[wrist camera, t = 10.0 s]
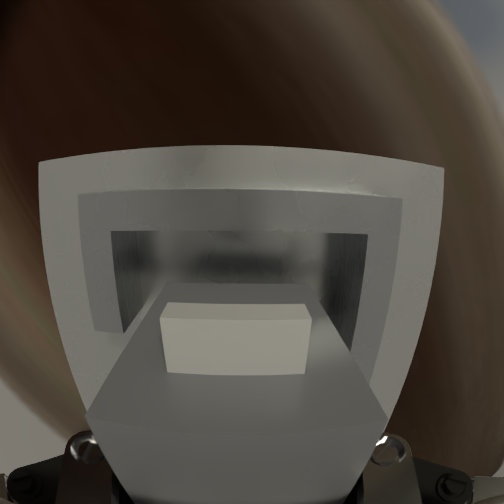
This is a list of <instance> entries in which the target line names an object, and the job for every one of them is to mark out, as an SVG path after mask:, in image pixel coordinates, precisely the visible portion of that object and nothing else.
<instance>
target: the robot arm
mask: <svg viewBox="0 0 504 504" xmlns="http://www.w3.org/2000/svg"><path fill="white" fill-rule="evenodd" d="M0 504H134V502H133V501H132V499H131V498H130V496H129V495H128V493H127V492H126V490H125V489H124V487H123V486H122V484H121V483H120V481H119V479H118V478H117V476H116V475H115V473H114V471H113V470H112V468H111V466H110V464H109V463H108V461H107V459H106V457H105V456H104V454H103V452H102V450H101V448H100V446H99V445H98V443H97V441H96V439H95V437H94V435H93V433H92V431H91V430H90V431H82V432H79V433H77V434H75V435H74V436H72V437H71V438H70V439H69V440H68V443H67V445H66V448H65V453H64V454H63V455H60V456H57V457H54V458H51V459H48V460H45V461H41V462H38V463H35V464H31V465H27V466H24V467H20V468H17V469H15V470H14V471H13V472H11V473H10V475H9V476H8V477H7V476H6V475H5V474H0ZM343 504H504V477H479V476H475V477H474V478H473V479H470V477H469V476H468V475H467V474H466V473H464V472H462V471H459V470H456V469H452V468H448V467H445V466H441V465H438V464H435V463H431V462H428V461H425V460H422V459H419V458H416V457H413V456H412V454H411V450H410V447H409V445H408V443H407V442H406V441H405V440H404V439H403V438H401V437H399V436H398V435H395V434H391V433H382V434H381V437H380V439H379V441H378V443H377V445H376V447H375V449H374V451H373V453H372V455H371V457H370V458H369V460H368V462H367V464H366V466H365V468H364V469H363V471H362V473H361V475H360V477H359V478H358V480H357V482H356V483H355V485H354V487H353V488H352V490H351V492H350V493H349V495H348V496H347V498H346V500H345V501H344V503H343Z"/></svg>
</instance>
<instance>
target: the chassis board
mask: <svg viewBox="0 0 504 504" xmlns="http://www.w3.org/2000/svg"><path fill="white" fill-rule="evenodd" d="M443 187H444V168H441V167H436V166H431V165H426V164H421V163H416V162H410V161H404V160H399V159H392V158H386V157H379V156H372V155H365V154H357V153H348V152H339V151H329V150H318V149H306V148H291V147H272V146H229V145H220V146H178V147H158V148H144V149H132V150H121V151H111V152H102V153H94V154H87V155H79V156H73V157H66V158H60V159H54V160H48V161H43V162H39V206H40V222H41V233H42V243H43V251H44V259H45V266H46V272H47V278H48V283H49V289H50V294H51V299H52V303H53V308H54V312H55V317H56V321H57V325H58V329H59V332H60V336H61V340H62V343H63V346H64V350H65V353H66V356H67V359H68V363H69V366H70V369H71V371H72V374H73V377H74V380H75V383H76V385H77V388H78V391H79V393H80V396H81V398H82V401H83V403H84V406H85V408H86V411H88V409H89V407H90V406H91V404H92V402H93V400H94V399H95V397H96V395H97V393H98V392H99V390H100V388H101V387H102V385H103V383H104V381H105V380H106V378H107V376H108V375H109V373H110V371H111V370H112V368H113V366H114V365H115V363H116V361H117V360H118V358H119V356H120V355H121V353H122V352H123V350H124V348H125V347H126V345H127V344H128V342H129V340H130V339H131V337H132V336H133V334H134V332H135V331H136V329H137V328H138V326H139V325H140V323H141V321H142V320H143V318H144V317H145V315H146V314H147V312H148V311H149V309H150V308H151V306H152V304H153V303H154V301H155V300H156V298H157V297H158V295H159V294H160V292H161V291H162V289H163V288H164V286H165V285H166V283H167V282H183V283H236V284H309V286H310V287H311V289H312V291H313V292H314V294H315V296H316V297H317V299H318V300H319V302H320V304H321V305H322V307H323V309H324V310H325V312H326V313H327V315H328V317H329V318H330V320H331V322H332V323H333V325H334V327H335V328H336V330H337V332H338V333H339V335H340V337H341V338H342V340H343V342H344V343H345V345H346V347H347V348H348V350H349V352H350V353H351V355H352V357H353V358H354V360H355V362H356V364H357V365H358V367H359V369H360V370H361V372H362V374H363V376H364V377H365V379H366V381H367V382H368V384H369V386H370V388H371V389H372V391H373V393H374V395H375V396H376V398H377V400H378V402H379V403H380V405H381V407H382V409H383V410H384V412H385V414H386V416H387V418H388V421H389V419H390V416H391V414H392V412H393V409H394V407H395V405H396V402H397V400H398V397H399V394H400V392H401V389H402V387H403V384H404V381H405V378H406V376H407V373H408V370H409V367H410V364H411V361H412V358H413V355H414V351H415V348H416V345H417V341H418V338H419V334H420V331H421V327H422V323H423V319H424V315H425V311H426V307H427V303H428V298H429V294H430V289H431V284H432V279H433V274H434V268H435V262H436V256H437V249H438V242H439V234H440V225H441V215H442V203H443ZM388 421H387V423H388ZM386 425H387V424H386ZM385 428H386V426H385ZM385 428H384V430H385ZM384 430H383V432H384ZM383 432H382V433H383Z"/></svg>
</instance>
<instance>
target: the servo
mask: <svg viewBox="0 0 504 504" xmlns="http://www.w3.org/2000/svg"><path fill="white" fill-rule="evenodd" d="M85 418H86V420H87V422H88V424H89V427H90V429H91V431H92V433H93V435H94V437H95V439H96V441H97V443H98V445H99V446H100V448H101V450H102V452H103V454H104V456H105V457H106V459H107V461H108V463H109V464H110V466H111V468H112V470H113V471H114V473H115V475H116V476H117V478H118V479H119V481H120V483H121V484H122V486H123V487H124V489H125V490H126V492H127V493H128V495H129V496H130V498H131V499H132V501H133V502H134V504H343V503H344V501H345V500H346V498H347V496H348V495H349V493H350V492H351V490H352V488H353V487H354V485H355V483H356V482H357V480H358V478H359V477H360V475H361V473H362V471H363V469H364V468H365V466H366V464H367V462H368V460H369V458H370V457H371V455H372V453H373V451H374V449H375V447H376V445H377V443H378V441H379V439H380V437H381V434H382V432H383V430H384V428H385V426H386V424H387V421H388V418H387V416H386V414H385V412H384V410H383V409H382V407H381V405H380V403H379V402H378V400H377V398H376V396H375V395H374V393H373V391H372V389H371V388H370V386H369V384H368V382H367V381H366V379H365V377H364V376H363V374H362V372H361V370H360V369H359V367H358V365H357V364H356V362H355V360H354V358H353V357H352V355H351V353H350V352H349V350H348V348H347V347H346V345H345V343H344V342H343V340H342V338H341V337H340V335H339V333H338V332H337V330H336V328H335V327H334V325H333V323H332V322H331V320H330V318H329V317H328V315H327V313H326V312H325V310H324V309H323V307H322V305H321V304H320V302H319V300H318V299H317V297H316V296H315V294H314V292H313V291H312V289H311V287H310V286H309V284H236V283H183V282H167V283H166V285H165V286H164V288H163V289H162V291H161V292H160V294H159V295H158V297H157V298H156V300H155V301H154V303H153V304H152V306H151V308H150V309H149V311H148V312H147V314H146V315H145V317H144V318H143V320H142V321H141V323H140V325H139V326H138V328H137V329H136V331H135V332H134V334H133V336H132V337H131V339H130V340H129V342H128V344H127V345H126V347H125V348H124V350H123V352H122V353H121V355H120V356H119V358H118V360H117V361H116V363H115V365H114V366H113V368H112V370H111V371H110V373H109V375H108V376H107V378H106V380H105V381H104V383H103V385H102V387H101V388H100V390H99V392H98V393H97V395H96V397H95V399H94V400H93V402H92V404H91V406H90V407H89V409H88V411H87V413H86V414H85Z"/></svg>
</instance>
